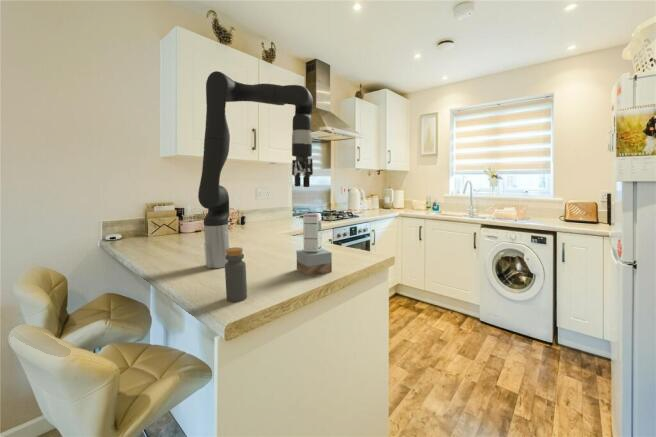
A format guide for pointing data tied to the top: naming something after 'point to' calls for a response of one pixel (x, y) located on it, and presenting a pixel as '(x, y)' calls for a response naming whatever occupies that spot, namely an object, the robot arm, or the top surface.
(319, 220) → the syrup box
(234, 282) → the bottle
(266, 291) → the top surface
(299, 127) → the robot arm
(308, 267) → the tower base block
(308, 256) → the tower top block
